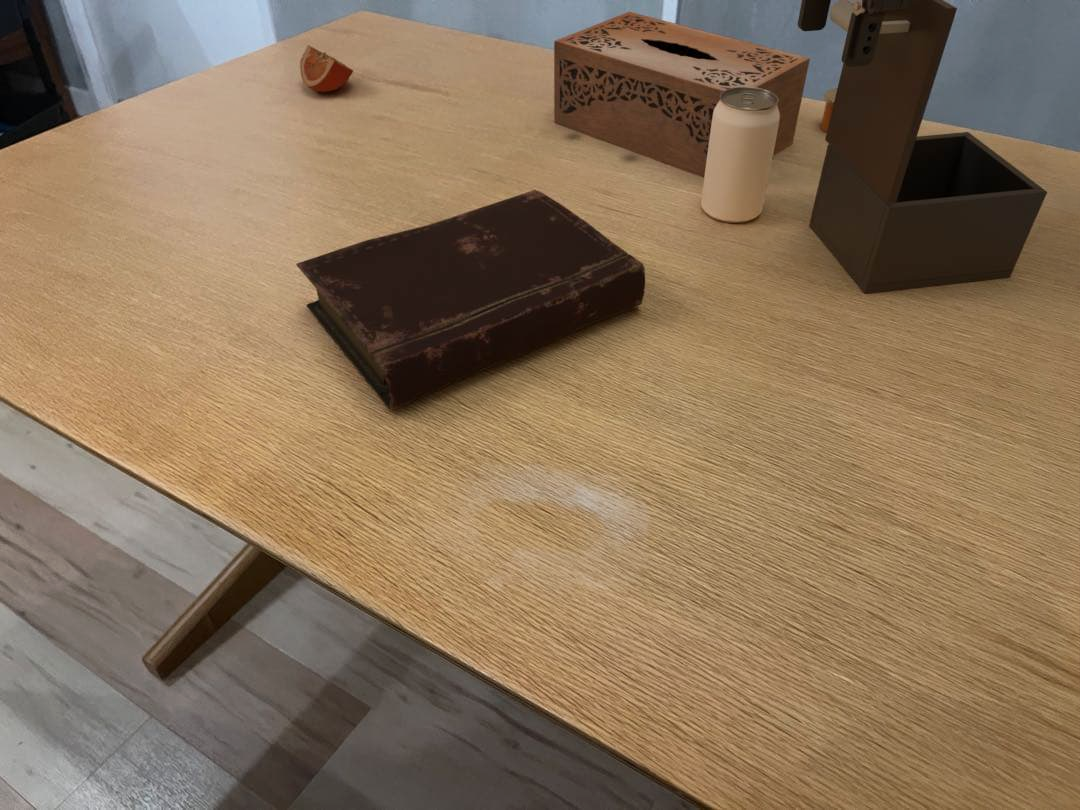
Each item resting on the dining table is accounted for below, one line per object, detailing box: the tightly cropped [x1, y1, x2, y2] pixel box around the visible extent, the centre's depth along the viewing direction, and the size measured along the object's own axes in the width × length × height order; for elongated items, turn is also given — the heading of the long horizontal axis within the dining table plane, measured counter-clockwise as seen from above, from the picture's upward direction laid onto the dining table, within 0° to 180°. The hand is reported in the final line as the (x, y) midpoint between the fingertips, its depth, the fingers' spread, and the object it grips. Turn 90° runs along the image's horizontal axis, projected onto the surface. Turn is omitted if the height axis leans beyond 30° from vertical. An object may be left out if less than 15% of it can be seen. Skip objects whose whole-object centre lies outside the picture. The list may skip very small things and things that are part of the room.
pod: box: [820, 87, 838, 133], centre depth 101 cm, size 5×5×4 cm
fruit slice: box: [299, 45, 354, 93], centre depth 112 cm, size 8×7×5 cm
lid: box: [825, 0, 958, 203], centre depth 68 cm, size 15×13×5 cm
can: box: [700, 87, 780, 224], centre depth 83 cm, size 6×6×12 cm
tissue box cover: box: [553, 11, 811, 178], centre depth 98 cm, size 26×14×10 cm, turn 47°
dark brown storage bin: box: [808, 131, 1048, 294], centre depth 78 cm, size 15×13×9 cm
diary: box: [295, 189, 646, 411], centre depth 73 cm, size 19×25×5 cm
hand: (831, 46), depth 66 cm, fingers open, 8 cm apart
